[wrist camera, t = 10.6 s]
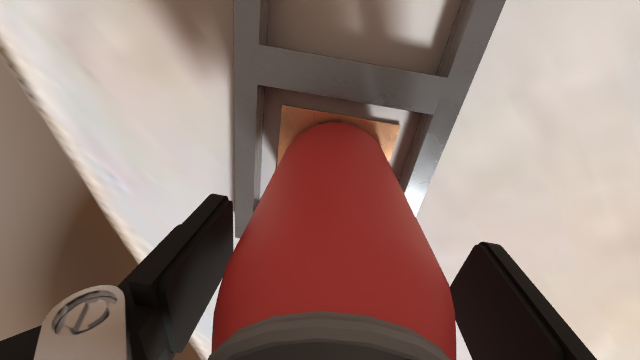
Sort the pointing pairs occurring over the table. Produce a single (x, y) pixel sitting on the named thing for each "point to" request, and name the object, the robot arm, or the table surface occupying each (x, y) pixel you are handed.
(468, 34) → the gray rectangular frame
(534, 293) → the robot arm
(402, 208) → the beer can
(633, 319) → the table surface
